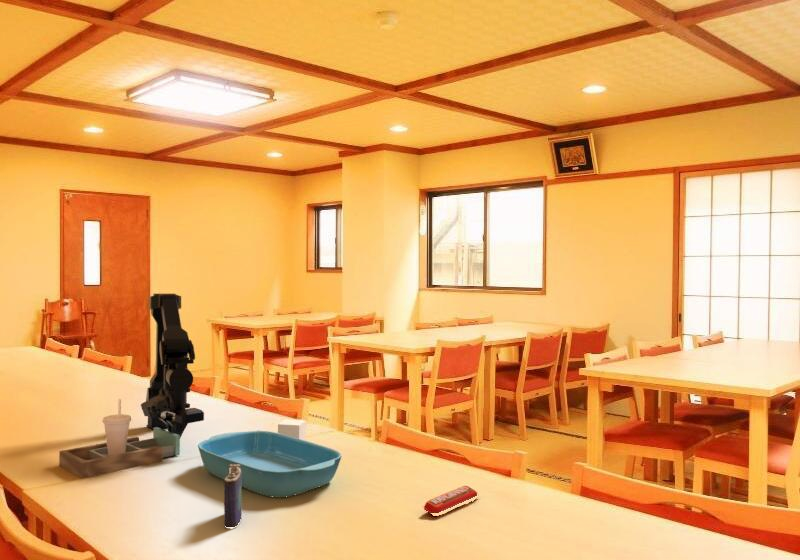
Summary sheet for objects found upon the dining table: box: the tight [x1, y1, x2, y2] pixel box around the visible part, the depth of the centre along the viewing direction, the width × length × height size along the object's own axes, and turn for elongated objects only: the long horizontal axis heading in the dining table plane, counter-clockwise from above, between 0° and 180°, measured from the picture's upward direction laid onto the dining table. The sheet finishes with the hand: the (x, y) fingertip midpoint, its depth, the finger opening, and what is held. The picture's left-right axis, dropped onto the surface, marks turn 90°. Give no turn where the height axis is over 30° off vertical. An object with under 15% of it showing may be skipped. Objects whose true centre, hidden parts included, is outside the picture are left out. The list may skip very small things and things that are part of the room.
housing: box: [58, 436, 163, 479], centre depth 161 cm, size 19×13×4 cm
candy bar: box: [423, 485, 478, 514], centre depth 136 cm, size 16×4×3 cm, turn 139°
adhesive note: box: [277, 418, 307, 441], centre depth 182 cm, size 6×6×6 cm
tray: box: [89, 427, 181, 460], centre depth 165 cm, size 18×12×5 cm, turn 138°
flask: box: [223, 464, 242, 527], centre depth 127 cm, size 9×3×11 cm, turn 8°
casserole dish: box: [197, 430, 343, 498], centre depth 153 cm, size 37×22×7 cm, turn 50°
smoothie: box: [102, 398, 132, 456], centre depth 162 cm, size 6×6×14 cm
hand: (174, 444), depth 173 cm, fingers closed
